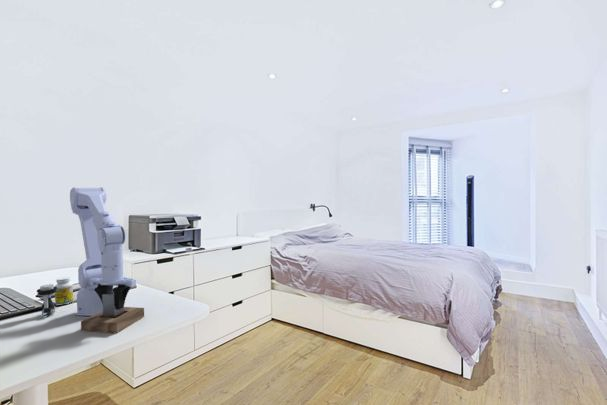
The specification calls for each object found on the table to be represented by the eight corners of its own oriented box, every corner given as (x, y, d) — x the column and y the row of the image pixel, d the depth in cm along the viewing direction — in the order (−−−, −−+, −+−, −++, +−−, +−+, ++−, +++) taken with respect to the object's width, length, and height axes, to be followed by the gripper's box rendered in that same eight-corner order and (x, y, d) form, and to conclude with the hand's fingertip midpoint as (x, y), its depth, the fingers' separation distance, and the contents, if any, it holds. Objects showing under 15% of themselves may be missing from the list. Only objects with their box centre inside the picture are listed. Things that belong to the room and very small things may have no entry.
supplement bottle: (76, 300, 120) (75, 275, 119) (68, 305, 114) (67, 279, 114) (60, 301, 118) (59, 276, 118) (52, 306, 113) (51, 280, 113)
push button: (53, 317, 103) (52, 288, 102) (33, 320, 101) (32, 290, 100) (60, 310, 109) (59, 282, 108) (41, 313, 107) (40, 284, 106)
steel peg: (103, 316, 95) (102, 294, 95) (112, 311, 99) (112, 290, 99) (114, 317, 95) (113, 294, 95) (124, 312, 99) (123, 290, 99)
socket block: (81, 330, 92) (80, 321, 92) (112, 315, 104) (111, 306, 104) (117, 333, 91) (116, 323, 90) (144, 316, 102) (143, 307, 102)
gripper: (81, 267, 94) (82, 311, 94) (123, 268, 92) (125, 314, 92) (99, 262, 101) (101, 303, 101) (139, 263, 99) (141, 305, 99)
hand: (113, 308), depth 97 cm, fingers closed on steel peg, 4 cm apart
